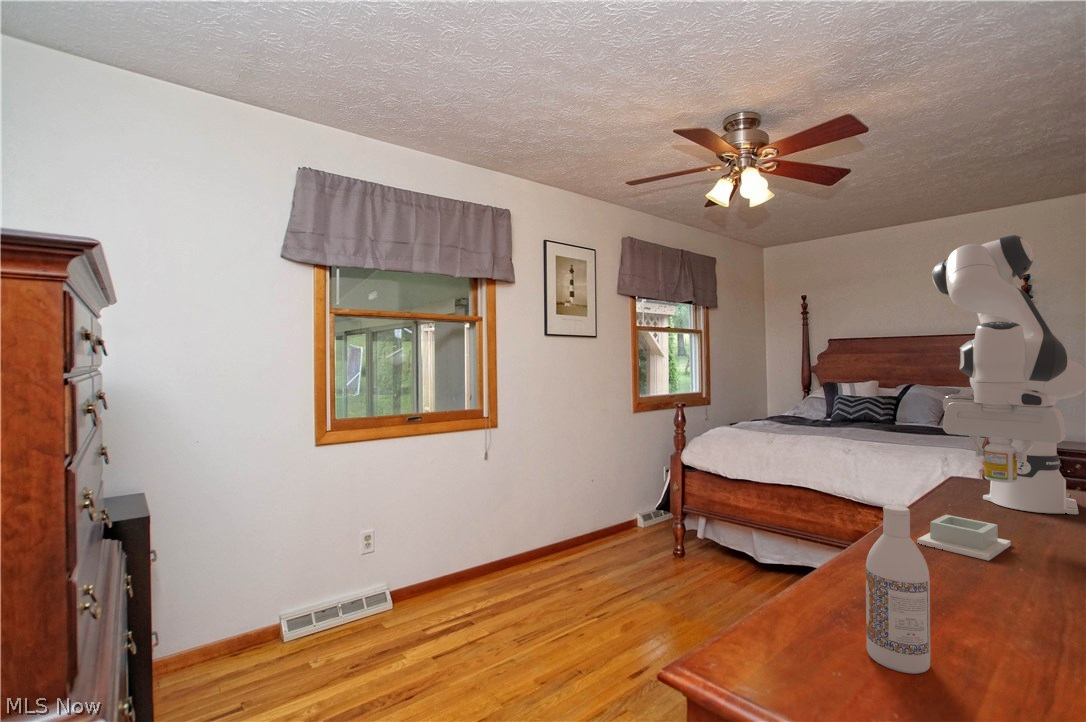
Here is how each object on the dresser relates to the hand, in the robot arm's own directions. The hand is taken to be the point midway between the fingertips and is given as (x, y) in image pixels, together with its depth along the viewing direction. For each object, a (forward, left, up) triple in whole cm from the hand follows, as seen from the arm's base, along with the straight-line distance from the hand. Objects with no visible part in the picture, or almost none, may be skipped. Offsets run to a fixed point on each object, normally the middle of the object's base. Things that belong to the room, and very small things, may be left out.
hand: (1000, 458), depth 115 cm
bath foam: (+70, +7, -18) cm, 73 cm away
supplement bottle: (0, 0, -5) cm, 5 cm away
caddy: (+11, -3, -17) cm, 21 cm away
